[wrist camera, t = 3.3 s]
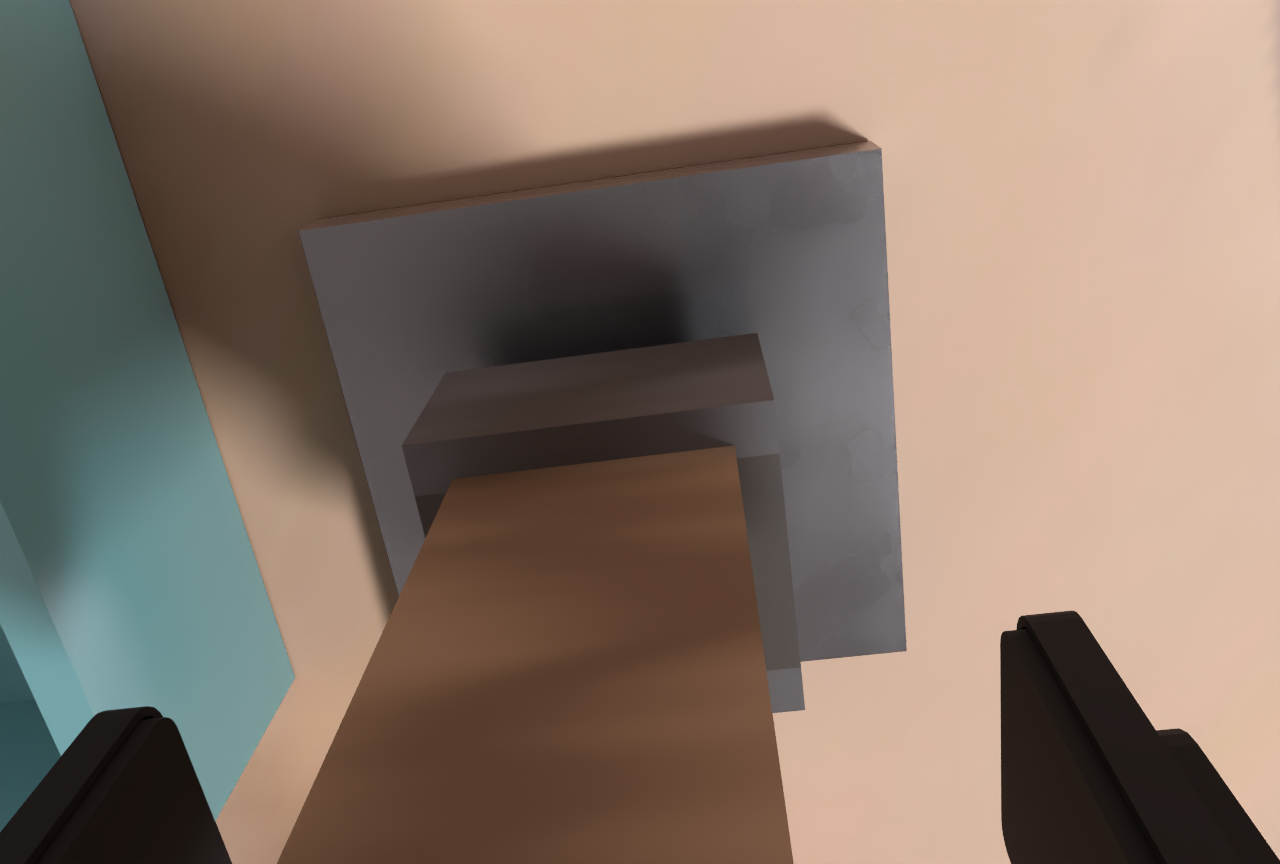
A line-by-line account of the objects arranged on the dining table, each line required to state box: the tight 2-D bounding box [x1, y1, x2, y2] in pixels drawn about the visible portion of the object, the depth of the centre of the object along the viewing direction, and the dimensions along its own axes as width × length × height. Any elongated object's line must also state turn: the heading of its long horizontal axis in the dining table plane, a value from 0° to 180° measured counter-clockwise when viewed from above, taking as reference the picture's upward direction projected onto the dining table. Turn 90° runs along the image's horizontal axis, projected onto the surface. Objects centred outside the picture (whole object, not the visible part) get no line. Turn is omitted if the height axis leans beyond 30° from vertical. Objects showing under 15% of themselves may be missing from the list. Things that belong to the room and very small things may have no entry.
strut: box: [277, 333, 805, 864], centre depth 12 cm, size 5×5×12 cm
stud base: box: [299, 141, 906, 662], centre depth 17 cm, size 10×10×6 cm
